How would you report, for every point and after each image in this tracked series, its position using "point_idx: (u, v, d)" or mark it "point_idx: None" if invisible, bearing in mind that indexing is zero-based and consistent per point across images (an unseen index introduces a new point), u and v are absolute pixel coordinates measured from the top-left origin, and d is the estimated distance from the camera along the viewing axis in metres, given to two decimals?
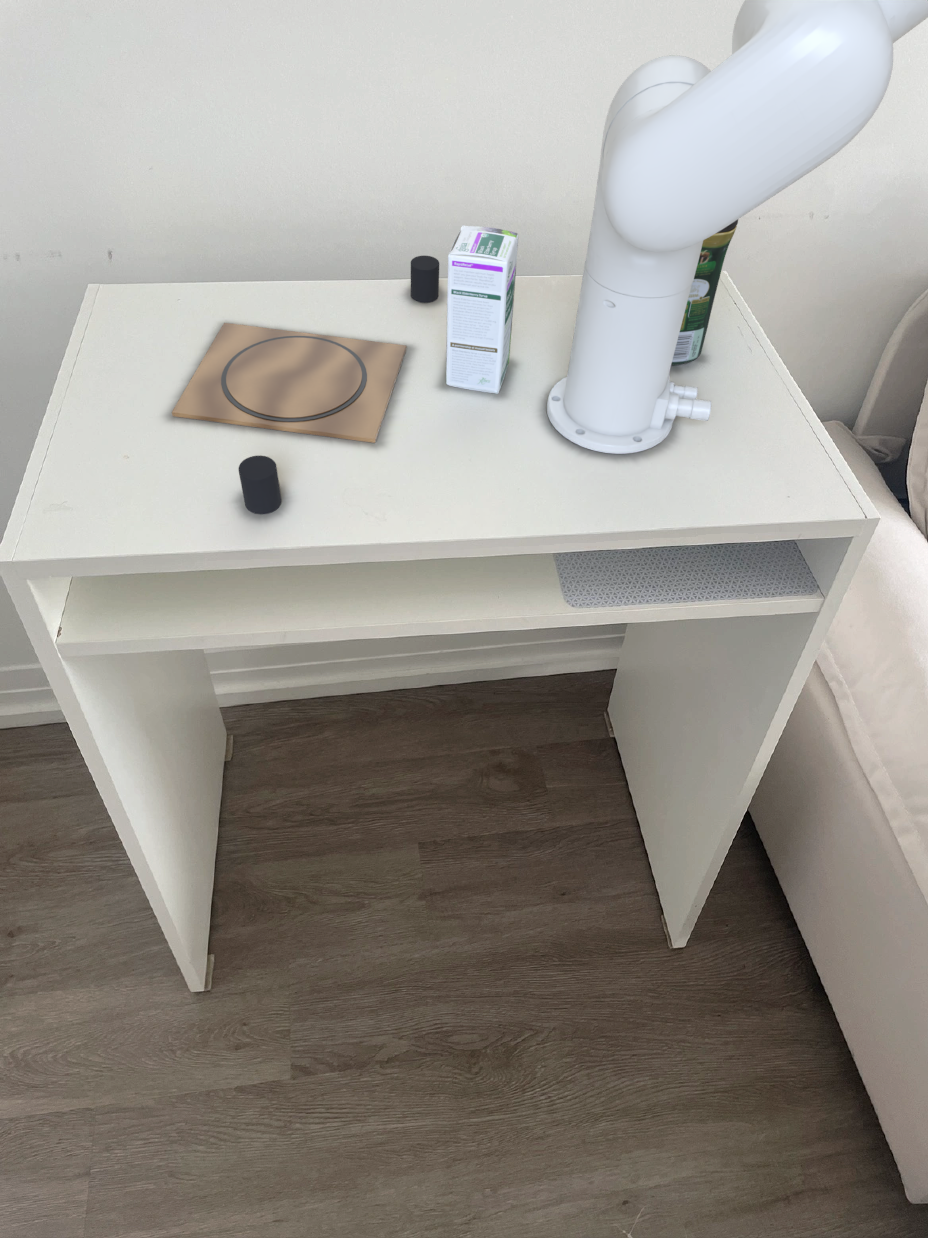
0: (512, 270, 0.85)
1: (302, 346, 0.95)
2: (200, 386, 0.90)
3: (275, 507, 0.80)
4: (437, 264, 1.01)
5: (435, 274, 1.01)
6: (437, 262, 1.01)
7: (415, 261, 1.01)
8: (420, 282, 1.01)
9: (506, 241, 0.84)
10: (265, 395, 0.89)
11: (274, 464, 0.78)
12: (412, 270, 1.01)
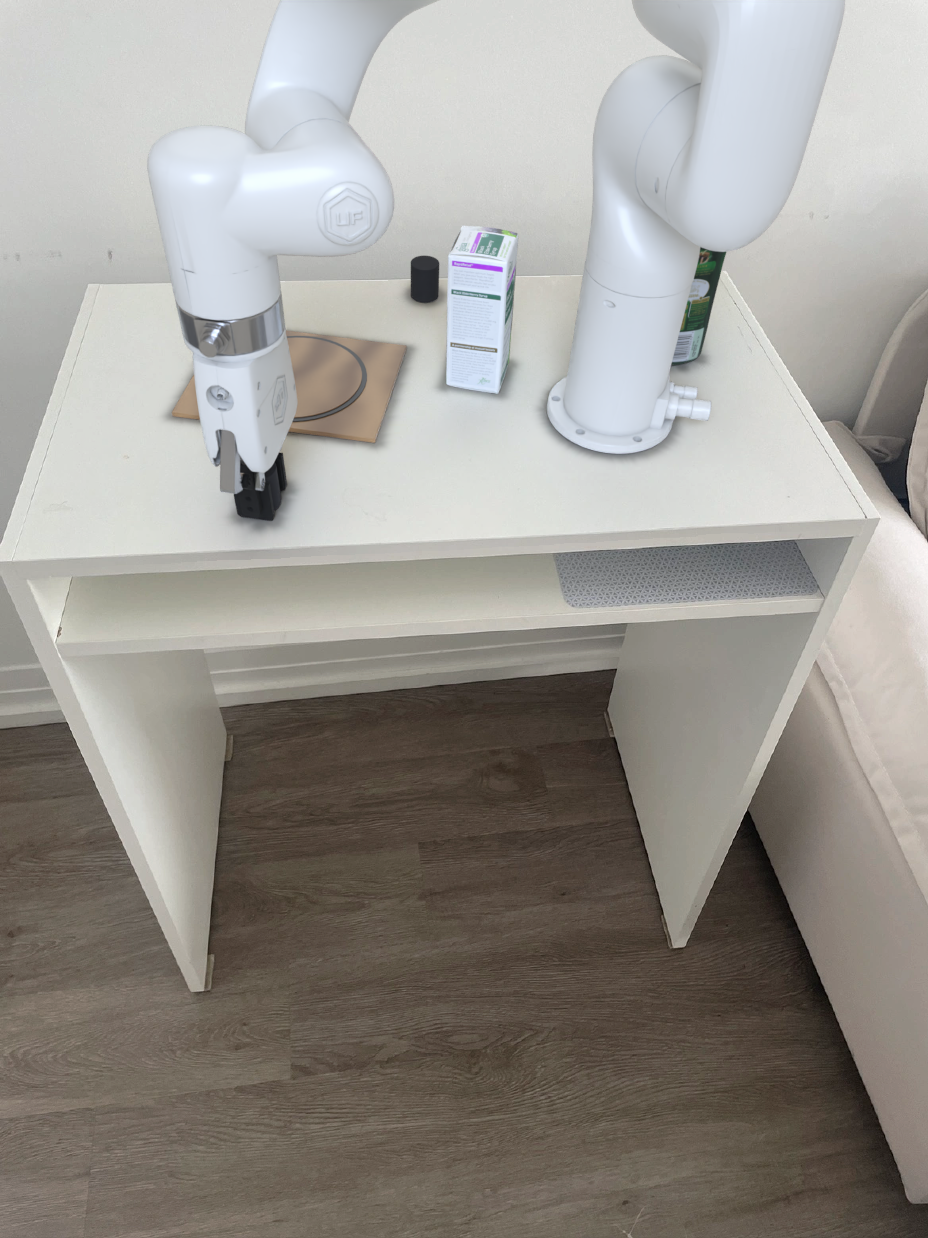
0: (512, 270, 0.85)
1: (302, 346, 0.95)
2: None
3: (275, 507, 0.80)
4: (437, 264, 1.01)
5: (435, 274, 1.01)
6: (437, 262, 1.01)
7: (415, 261, 1.01)
8: (420, 282, 1.01)
9: (506, 241, 0.84)
10: None
11: (274, 464, 0.78)
12: (412, 270, 1.01)
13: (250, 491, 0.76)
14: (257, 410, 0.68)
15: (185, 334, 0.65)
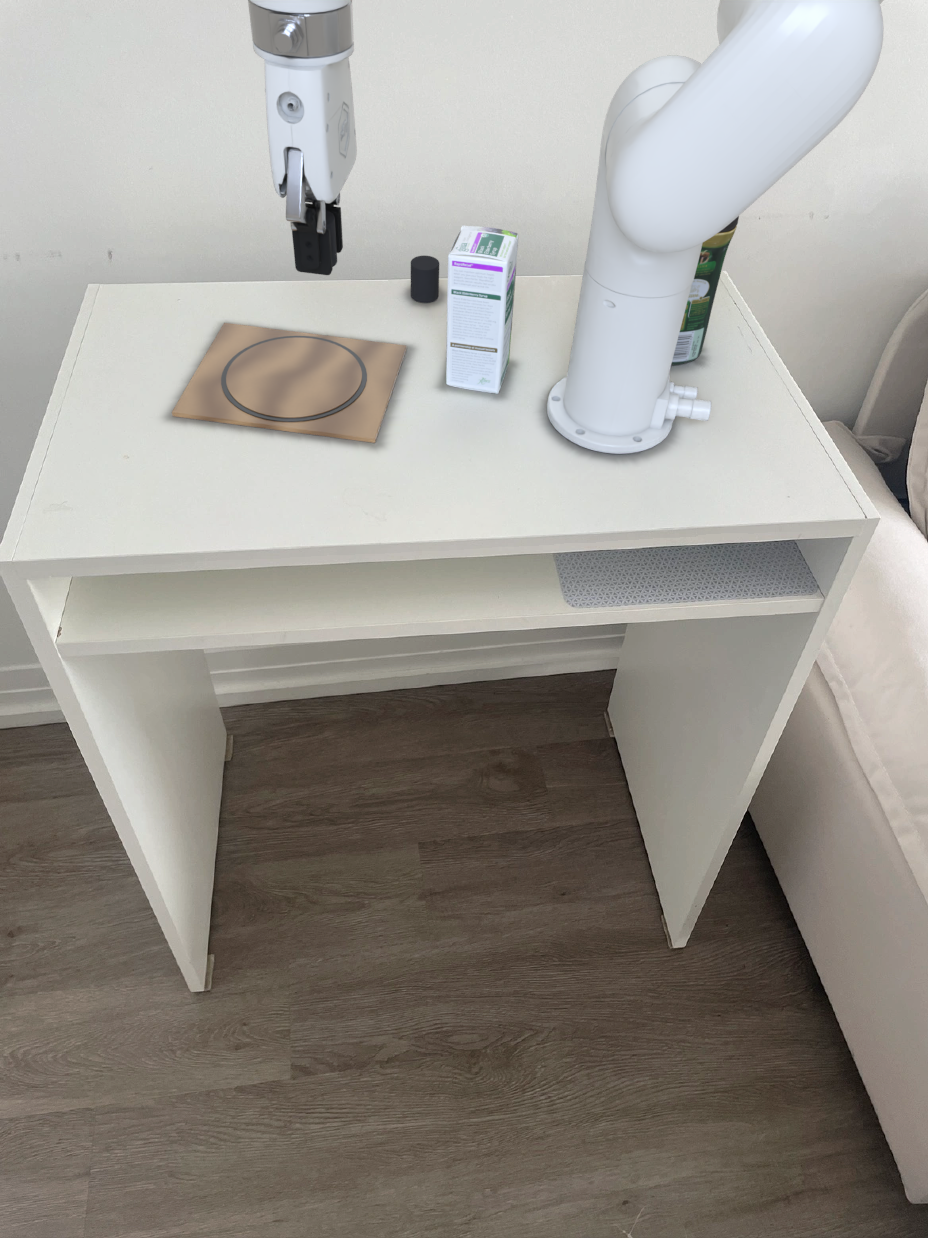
0: (512, 270, 0.85)
1: (302, 346, 0.95)
2: (200, 386, 0.90)
3: (332, 263, 0.80)
4: (437, 264, 1.01)
5: (435, 274, 1.01)
6: (437, 262, 1.01)
7: (415, 261, 1.01)
8: (420, 282, 1.01)
9: (506, 241, 0.84)
10: (265, 395, 0.89)
11: (332, 215, 0.78)
12: (412, 270, 1.01)
13: (311, 235, 0.76)
14: (326, 124, 0.68)
15: (257, 38, 0.66)
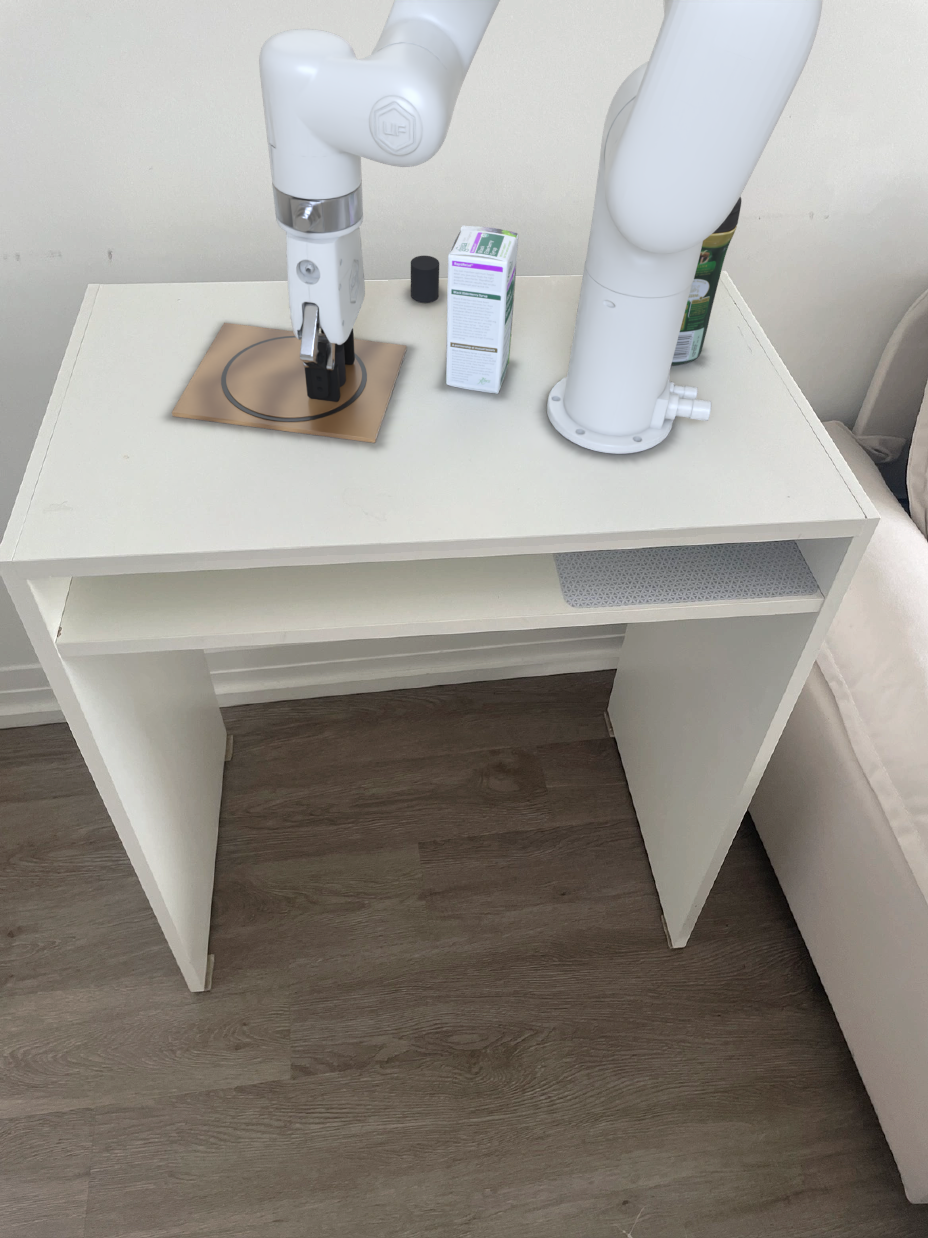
0: (512, 270, 0.85)
1: None
2: (200, 386, 0.90)
3: (341, 383, 0.91)
4: (437, 264, 1.01)
5: (435, 274, 1.01)
6: (437, 262, 1.01)
7: (415, 261, 1.01)
8: (420, 282, 1.01)
9: (506, 241, 0.84)
10: (265, 395, 0.89)
11: None
12: (412, 270, 1.01)
13: (321, 371, 0.86)
14: (339, 284, 0.79)
15: (280, 215, 0.76)
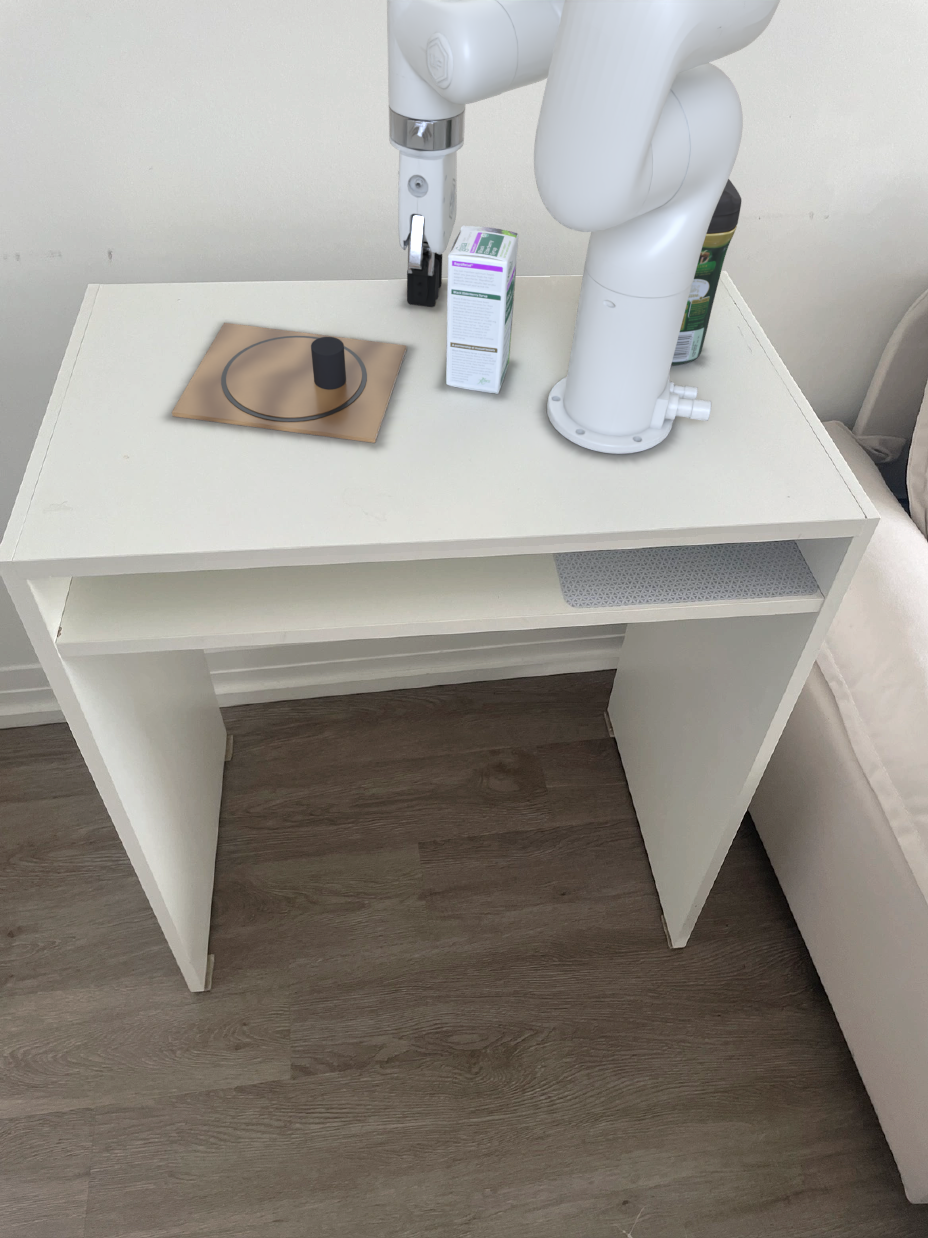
0: (512, 270, 0.85)
1: (302, 346, 0.95)
2: (200, 386, 0.90)
3: (341, 383, 0.91)
4: (437, 264, 1.01)
5: None
6: (437, 262, 1.01)
7: None
8: None
9: (506, 241, 0.84)
10: (265, 395, 0.89)
11: (342, 343, 0.89)
12: None
13: (422, 277, 0.99)
14: (443, 197, 0.91)
15: (395, 136, 0.89)
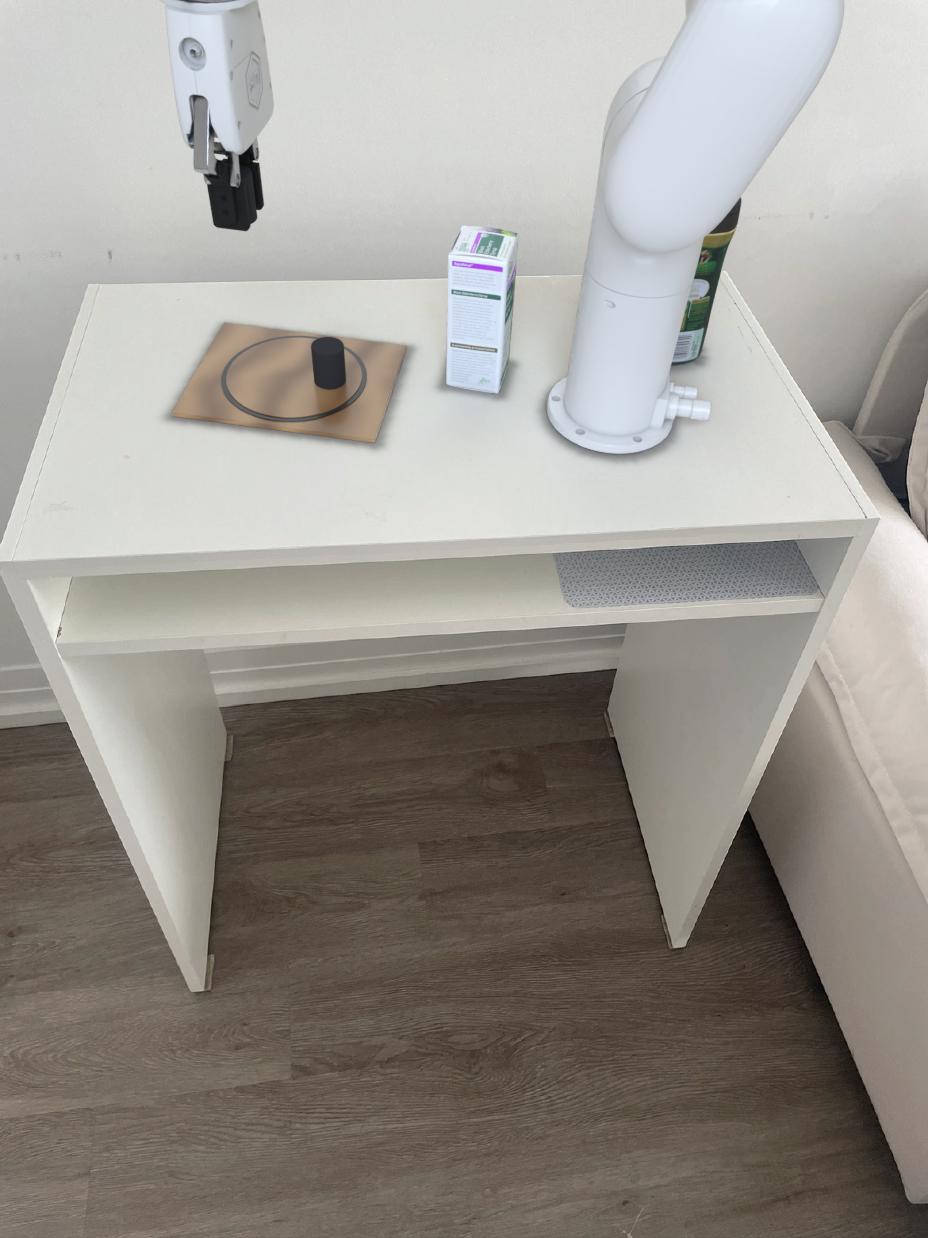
0: (512, 270, 0.85)
1: (302, 346, 0.95)
2: (200, 386, 0.90)
3: (341, 383, 0.91)
4: (248, 174, 0.77)
5: (246, 188, 0.78)
6: (249, 172, 0.78)
7: None
8: None
9: (506, 241, 0.84)
10: (265, 395, 0.89)
11: (342, 343, 0.89)
12: None
13: (225, 189, 0.76)
14: (230, 71, 0.68)
15: None
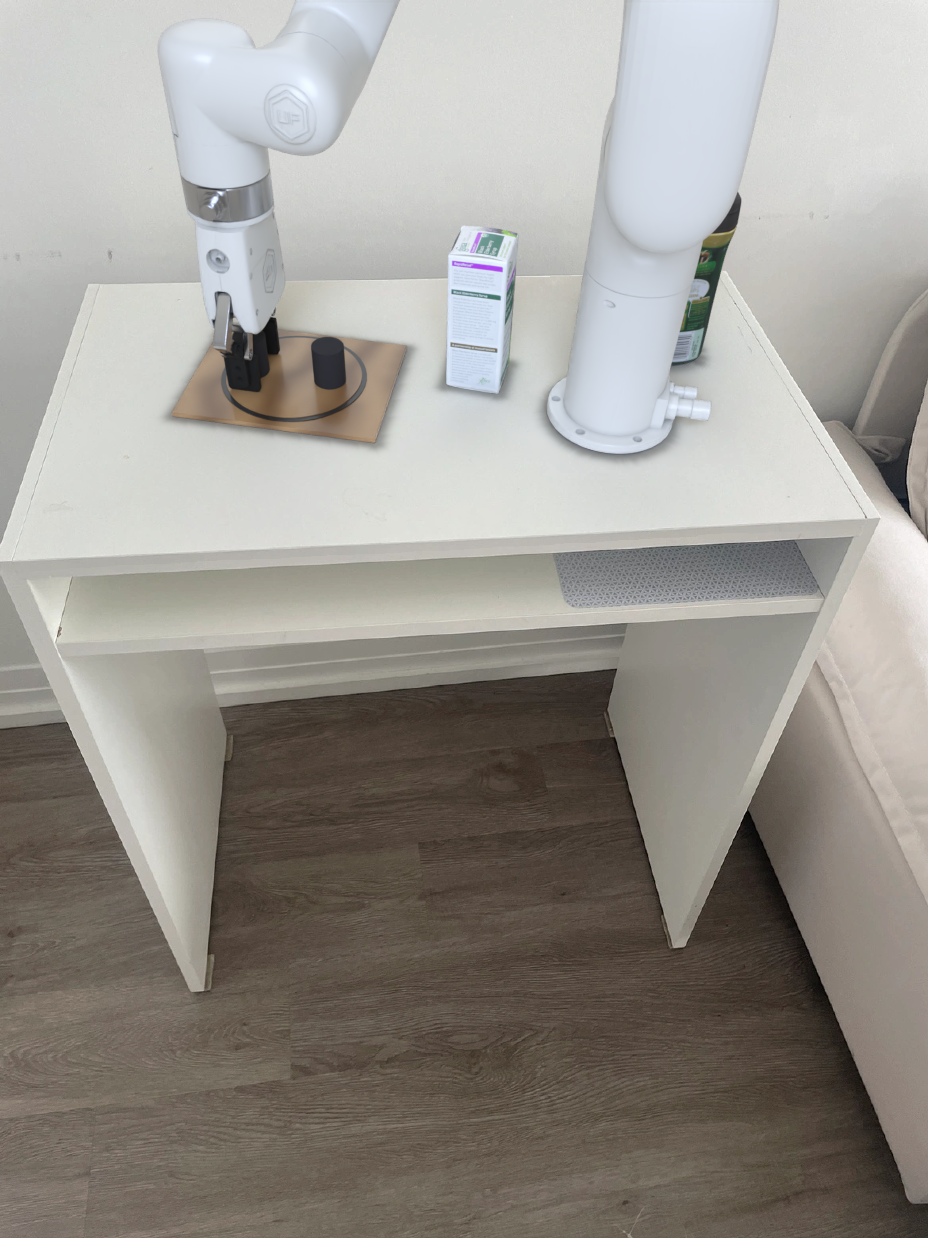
0: (512, 270, 0.85)
1: (302, 346, 0.95)
2: (200, 386, 0.90)
3: (341, 383, 0.91)
4: (262, 337, 0.89)
5: (260, 349, 0.89)
6: (262, 335, 0.89)
7: (237, 334, 0.89)
8: None
9: (506, 241, 0.84)
10: (265, 395, 0.89)
11: (342, 343, 0.89)
12: None
13: (239, 361, 0.86)
14: (250, 273, 0.79)
15: (188, 204, 0.77)
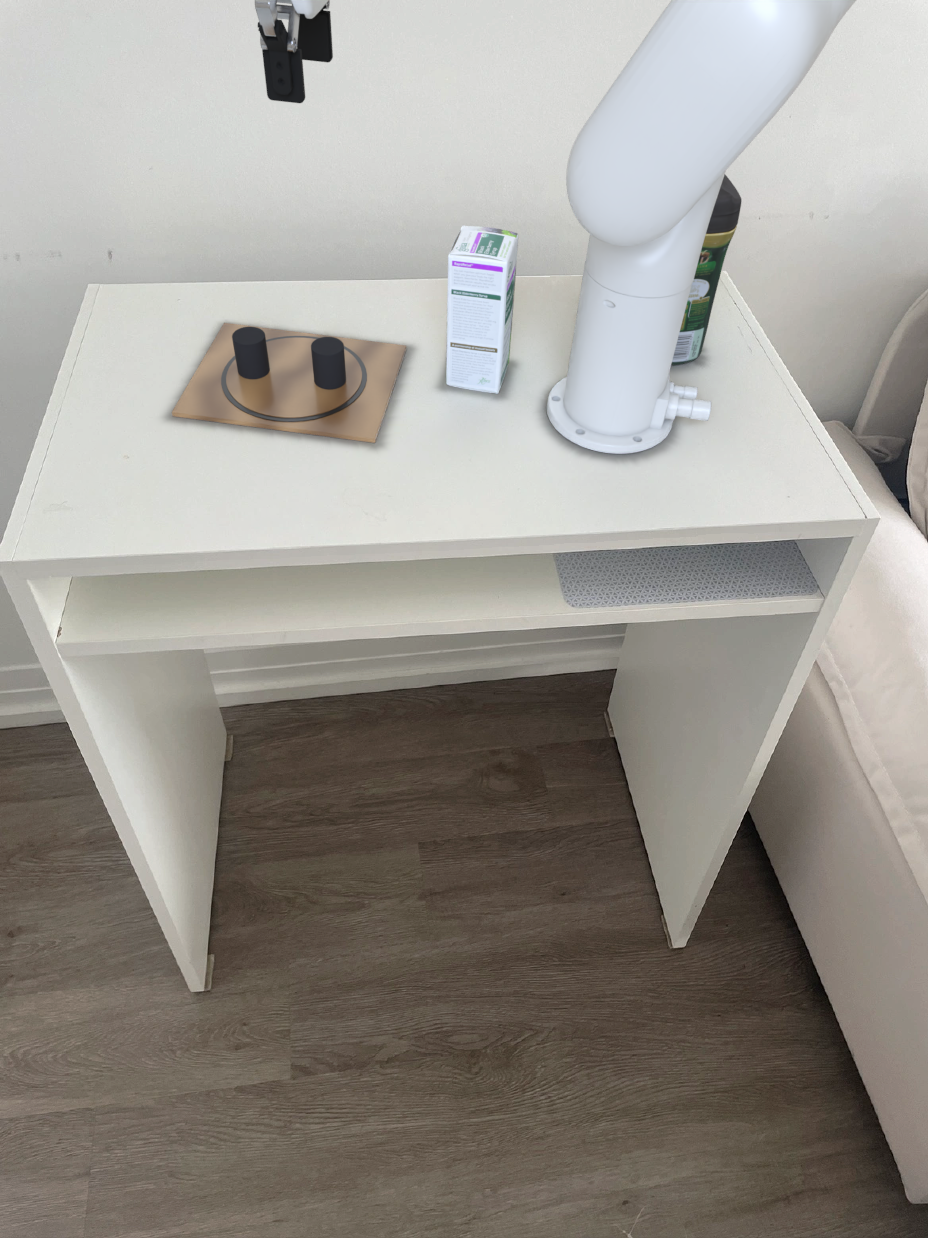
0: (512, 270, 0.85)
1: (302, 346, 0.95)
2: (200, 386, 0.90)
3: (341, 383, 0.91)
4: (262, 337, 0.89)
5: (260, 349, 0.89)
6: (262, 335, 0.89)
7: (237, 334, 0.89)
8: (243, 357, 0.89)
9: (506, 241, 0.84)
10: (265, 395, 0.89)
11: (342, 343, 0.89)
12: (234, 345, 0.89)
13: (282, 54, 0.74)
14: None
15: None
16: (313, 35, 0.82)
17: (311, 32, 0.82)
